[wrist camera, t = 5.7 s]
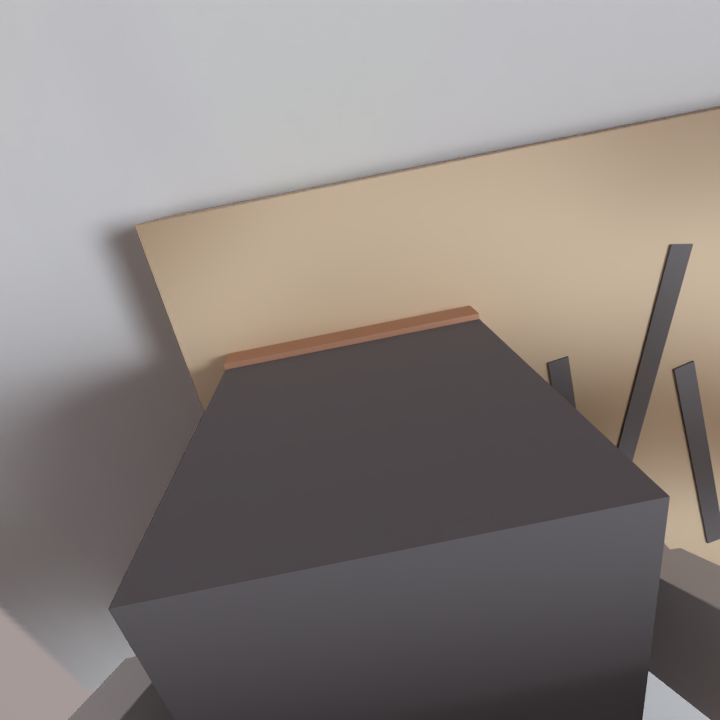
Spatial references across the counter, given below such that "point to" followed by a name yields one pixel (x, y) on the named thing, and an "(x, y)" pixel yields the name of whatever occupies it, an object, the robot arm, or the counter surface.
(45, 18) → the counter surface
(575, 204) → the pine board
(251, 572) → the block
